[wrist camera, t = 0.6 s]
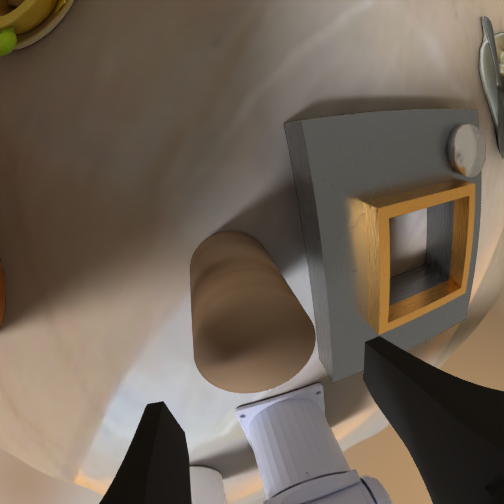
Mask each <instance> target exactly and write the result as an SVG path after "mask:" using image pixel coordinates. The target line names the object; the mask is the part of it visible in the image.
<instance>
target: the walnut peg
mask: <svg viewBox="0 0 504 504" xmlns="http://www.w3.org/2000/svg"><path fill="white" fill-rule="evenodd" d="M190 287H191V312H192V332H193V348H194V359H195V363H196V366H197V368H198V370H199V372H200V373H201V375H202V376H203V377H204V378H205V379H206V380H207V381H208V382H210V383H211V384H212V385H214V386H216V387H218V388H220V389H223V390H226V391H230V392H236V393H255V392H261V391H265V390H269V389H272V388H275V387H277V386H279V385H281V384H283V383H285V382H287V381H288V380H290V379H291V378H293V377H294V376H295V375H296V374H297V373H299V372H300V370H301V369H302V368H303V367H304V366H305V365H306V363H307V362H308V360H309V359H310V357H311V355H312V353H313V350H314V346H315V340H316V337H315V329H314V326H313V323H312V321H311V320H310V318H309V316H308V315H307V313H306V312H305V310H304V309H303V307H302V305H301V304H300V302H299V301H298V299H297V298H296V296H295V295H294V293H293V292H292V290H291V288H290V287H289V285H288V284H287V282H286V281H285V279H284V278H283V276H282V274H281V273H280V271H279V270H278V268H277V267H276V265H275V264H274V262H273V261H272V259H271V258H270V256H269V254H268V253H267V251H266V250H265V248H264V247H263V245H262V244H261V243H260V242H259V241H258V240H257V239H256V238H254V237H253V236H251V235H249V234H246V233H243V232H239V231H225V232H220V233H217V234H214V235H212V236H210V237H209V238H207V239H206V240H204V241H203V242H202V243H201V244H200V245H199V246H198V248H197V249H196V251H195V252H194V254H193V256H192V259H191V264H190Z"/></svg>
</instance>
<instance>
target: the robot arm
mask: <svg viewBox="0 0 504 504" xmlns="http://www.w3.org/2000/svg"><path fill="white" fill-rule="evenodd" d="M363 380H364V382H365V384H366V386H367V388H368V390H369V392H370V393H371V395H372V397H373V399H374V401H375V402H376V404H377V405H378V407H379V408H380V410H381V411H382V412H383V414H384V415H385V417H386V418H387V420H388V421H389V422H390V424H391V425H392V427H393V428H394V429H395V431H396V432H397V434H398V435H399V436H400V438H401V439H402V441H403V442H404V444H405V445H406V447H407V448H408V450H409V452H410V454H411V456H412V458H413V460H414V462H415V464H416V466H417V468H418V470H419V472H420V474H421V476H422V478H423V480H424V483H425V485H426V487H427V490H428V492H429V494H430V497H431V499H432V502H433V504H504V391H499V390H495V389H491V388H487V387H483V386H480V385H476V384H474V383H471V382H468V381H465V380H463V379H460V378H458V377H455V376H453V375H451V374H448V373H446V372H444V371H442V370H440V369H438V368H436V367H434V366H432V365H430V364H428V363H426V362H424V361H422V360H420V359H419V358H417V357H415V356H413V355H411V354H410V353H408V352H406V351H404V350H403V349H401V348H399V347H398V346H396V345H394V344H393V343H391V342H389V341H387V340H386V339H384V338H382V337H381V336H378V337H376V338H373V339H371V340H368V341H366V342H365V352H364V374H363ZM235 411H236V415H237V417H238V419H239V422H240V424H241V426H242V428H243V430H244V432H245V434H246V437H247V439H248V441H249V443H250V445H251V447H252V449H253V451H254V454H255V458H256V462H257V465H258V469H259V473H260V476H261V480H262V484H263V487H264V491H265V494H266V498H267V500H266V501H263V504H393V503H392V501H391V499H390V497H389V495H388V493H387V491H386V490H385V488H384V487H383V485H382V484H381V483H380V482H379V480H377V479H376V478H373V477H370V476H368V475H365V476H362V477H359V475H358V473H357V471H356V470H355V469H354V470H352V471H351V469H350V467H349V465H348V463H347V461H346V459H345V457H344V455H343V453H342V450H341V448H340V446H339V444H338V442H337V440H336V438H335V436H334V434H333V432H332V430H331V428H330V426H329V424H328V422H327V420H326V418H325V405H324V391H323V386H322V384H321V383H317V384H314V385H311V386H308V387H305V388H302V389H299V390H296V391H293V392H290V393H287V394H284V395H280V396H277V397H274V398H271V399H267V400H264V401H260V402H257V403H253V404H249V405H246V406H242V407H239V408H237V409H236V410H235ZM99 504H192V499H191V484H190V467H189V455H188V448H187V443H186V437H185V432H184V431H183V429H182V428H181V427H180V425H179V424H178V422H177V421H176V419H175V418H174V416H173V415H172V414H171V412H170V411H169V409H168V408H167V406H166V404H165V403H164V401H162V402H157V403H151V404H147V406H146V408H145V410H144V413H143V415H142V418H141V420H140V423H139V425H138V428H137V430H136V433H135V435H134V437H133V440H132V442H131V444H130V447H129V449H128V451H127V453H126V456H125V458H124V460H123V462H122V464H121V466H120V468H119V470H118V472H117V474H116V476H115V478H114V480H113V482H112V484H111V485H110V487H109V489H108V490H107V492H106V494H105V495H104V497H103V499H102V500H101V502H100V503H99Z"/></svg>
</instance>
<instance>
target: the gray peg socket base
mask: <svg viewBox="0 0 504 504" xmlns="http://www.w3.org/2000/svg"><path fill="white" fill-rule="evenodd" d="M284 128H285V133H286V138H287V143H288V148H289V153H290V158H291V164H292V169H293V175H294V180H295V186H296V192H297V197H298V203H299V209H300V215H301V222H302V228H303V234H304V241H305V248H306V254H307V261H308V269H309V276H310V283H311V291H312V299H313V307H314V315H315V324H316V333H317V342H318V351H319V359H320V361H321V362H322V364H323V366H324V368H325V369H326V371H327V373H328V375H329V376H330V378H331V380H332V382H333V383H334V382H336V381H339V380H341V379H344V378H346V377H349V376H351V375H354V374H356V373H359V372H361V371H363V370H364V352H365V342H366V341H368V340H371V339H373V338H376V337H378V336H381V337H382V338H384V339H386V340H387V341H389V342H391V343H393V344H394V345H396V346H398V347H399V348H401V349H403V350H404V351H407V350H409V349H411V348H413V347H415V346H417V345H419V344H421V343H423V342H425V341H427V340H429V339H430V338H432V337H434V336H436V335H438V334H440V333H441V332H443V331H445V330H447V329H449V328H450V327H452V326H454V325H455V324H457V323H459V322H461V321H462V320H464V319H465V318H466V314H467V309H468V305H469V300H470V295H471V289H472V284H473V278H474V271H475V264H476V257H477V249H478V239H479V228H480V213H481V170H482V168H483V165H484V162H485V156H486V148H485V142H484V138H483V136H482V133H481V132H480V130H479V122H478V113H477V110H473V109H452V108H432V109H402V110H385V111H372V112H361V113H351V114H342V115H333V116H326V117H318V118H311V119H304V120H298V121H292V122H286V123H284ZM424 208H427V250H426V264H425V265H422V266H420V267H417V268H415V269H412V270H410V271H407V272H405V273H402V274H399V275H397V276H394V277H392V278H390V231H389V218H392V217H396V216H399V215H403V214H406V213H410V212H413V211H417V210H420V209H424Z"/></svg>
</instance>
